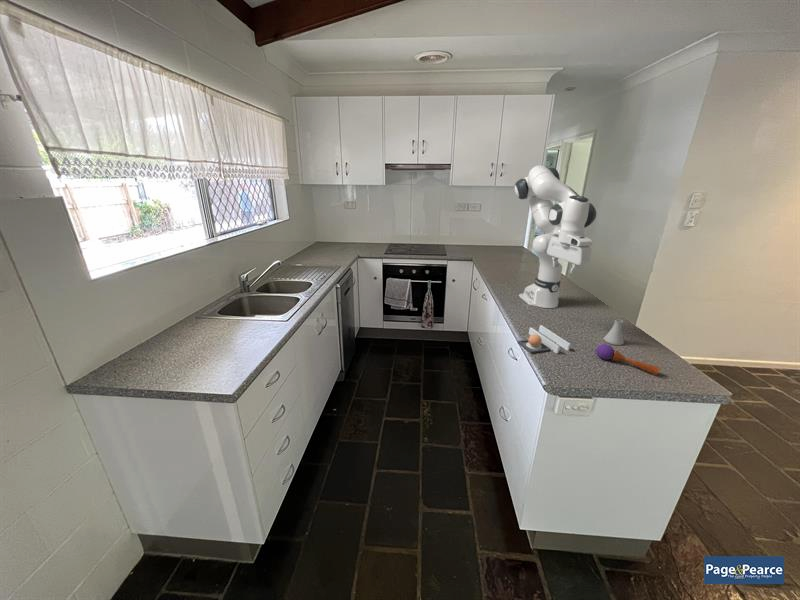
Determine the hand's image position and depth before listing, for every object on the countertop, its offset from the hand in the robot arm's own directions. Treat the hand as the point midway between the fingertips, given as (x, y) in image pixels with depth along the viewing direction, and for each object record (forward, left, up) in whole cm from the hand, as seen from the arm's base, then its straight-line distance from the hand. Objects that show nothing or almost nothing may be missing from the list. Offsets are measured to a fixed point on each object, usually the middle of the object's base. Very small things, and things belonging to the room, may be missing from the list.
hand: (563, 270), depth 137 cm
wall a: (+8, -5, -29) cm, 30 cm away
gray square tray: (+11, -17, -29) cm, 35 cm away
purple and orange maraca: (+31, +8, -29) cm, 43 cm away
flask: (+15, +20, -29) cm, 38 cm away
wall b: (+9, -11, -29) cm, 32 cm away
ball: (+11, -17, -28) cm, 35 cm away
